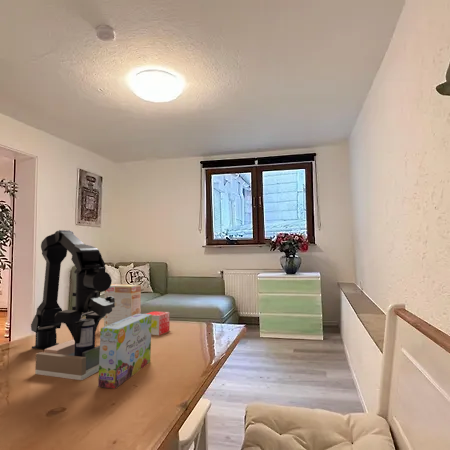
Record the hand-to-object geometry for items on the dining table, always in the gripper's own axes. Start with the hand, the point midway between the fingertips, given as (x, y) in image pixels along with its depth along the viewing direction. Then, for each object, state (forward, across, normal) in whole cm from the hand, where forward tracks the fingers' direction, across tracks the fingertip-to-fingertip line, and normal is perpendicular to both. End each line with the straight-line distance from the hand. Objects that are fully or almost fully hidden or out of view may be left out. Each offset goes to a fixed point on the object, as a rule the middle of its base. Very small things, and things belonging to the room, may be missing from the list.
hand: (84, 340), depth 102 cm
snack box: (+8, -1, -16) cm, 18 cm away
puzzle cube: (+8, +44, 0) cm, 45 cm away
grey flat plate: (+6, 0, -5) cm, 8 cm away
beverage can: (+6, 0, 0) cm, 6 cm away
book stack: (+6, 0, +6) cm, 9 cm away
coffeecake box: (+8, +44, +17) cm, 48 cm away
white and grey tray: (+8, 0, +1) cm, 8 cm away
